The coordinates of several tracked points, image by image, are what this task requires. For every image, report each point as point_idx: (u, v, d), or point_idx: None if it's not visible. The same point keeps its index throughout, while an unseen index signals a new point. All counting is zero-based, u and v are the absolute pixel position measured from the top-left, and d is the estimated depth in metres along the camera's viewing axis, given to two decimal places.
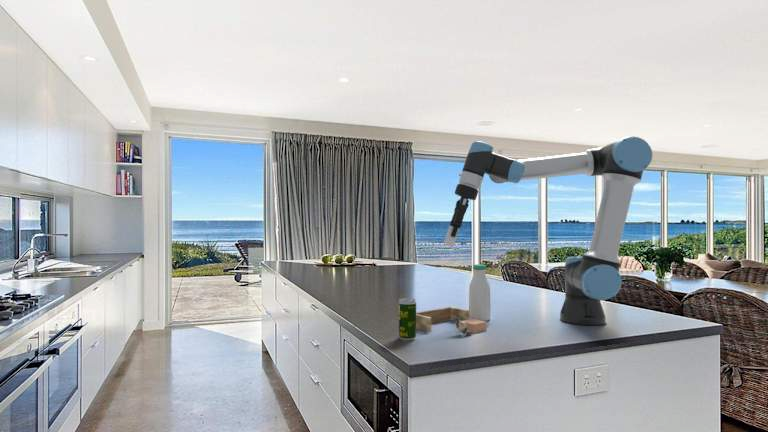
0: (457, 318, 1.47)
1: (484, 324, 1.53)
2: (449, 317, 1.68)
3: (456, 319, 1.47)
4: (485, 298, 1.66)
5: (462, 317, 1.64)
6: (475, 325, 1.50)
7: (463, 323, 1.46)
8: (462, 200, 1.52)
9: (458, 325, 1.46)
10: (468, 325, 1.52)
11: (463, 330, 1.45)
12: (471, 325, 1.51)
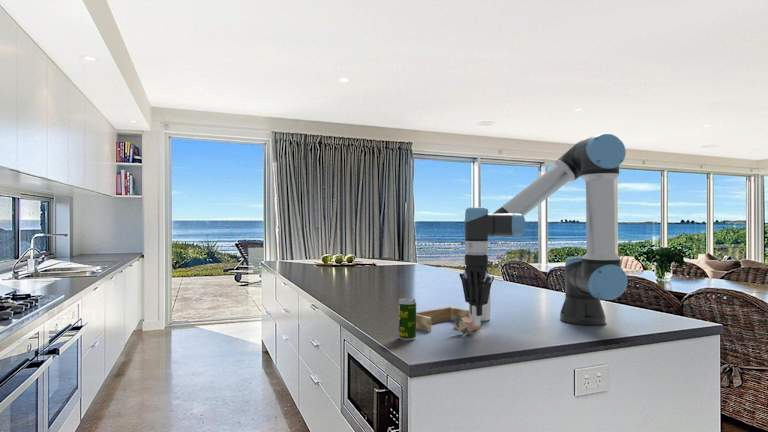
0: (457, 318, 1.48)
1: None
2: (449, 317, 1.68)
3: (456, 319, 1.47)
4: None
5: (462, 317, 1.64)
6: (469, 323, 1.52)
7: (463, 323, 1.46)
8: (489, 280, 1.48)
9: (458, 325, 1.46)
10: None
11: (463, 330, 1.46)
12: None
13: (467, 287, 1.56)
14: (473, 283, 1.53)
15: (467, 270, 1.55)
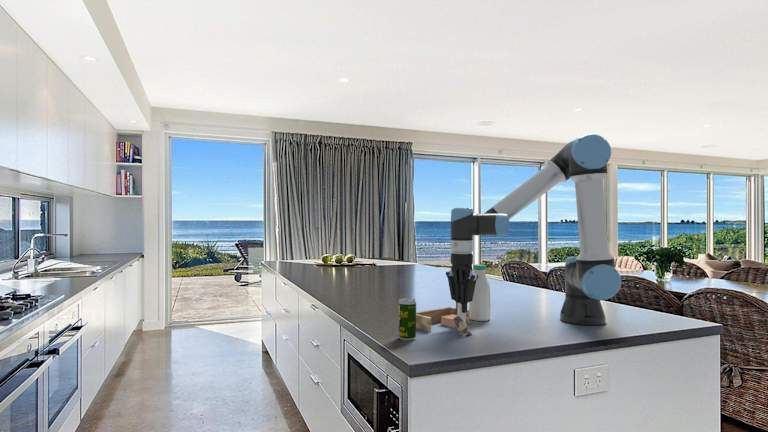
0: (457, 318, 1.48)
1: None
2: None
3: (456, 319, 1.47)
4: (485, 298, 1.66)
5: None
6: None
7: (463, 323, 1.46)
8: (474, 278, 1.53)
9: (458, 325, 1.46)
10: (448, 320, 1.59)
11: (463, 330, 1.46)
12: (451, 320, 1.58)
13: (453, 285, 1.61)
14: (459, 281, 1.58)
15: (453, 268, 1.60)
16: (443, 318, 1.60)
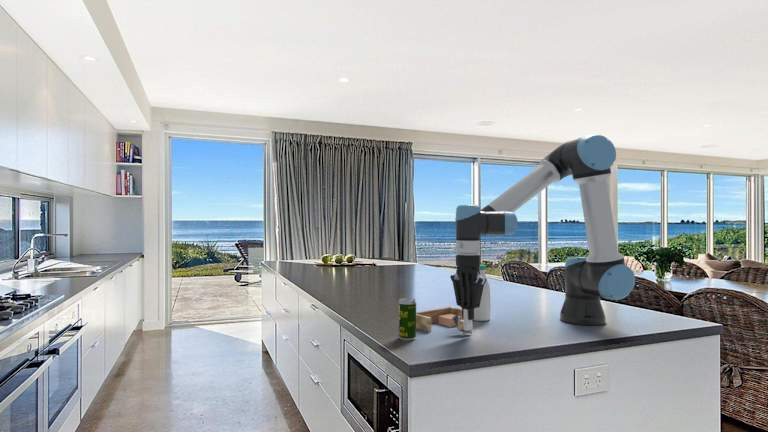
0: (456, 317, 1.48)
1: None
2: None
3: (455, 318, 1.48)
4: (485, 298, 1.66)
5: None
6: (451, 320, 1.58)
7: (462, 321, 1.46)
8: (481, 282, 1.40)
9: (457, 324, 1.47)
10: (444, 320, 1.60)
11: (462, 328, 1.46)
12: (447, 320, 1.59)
13: (458, 289, 1.47)
14: (465, 285, 1.45)
15: (458, 271, 1.46)
16: (440, 317, 1.62)
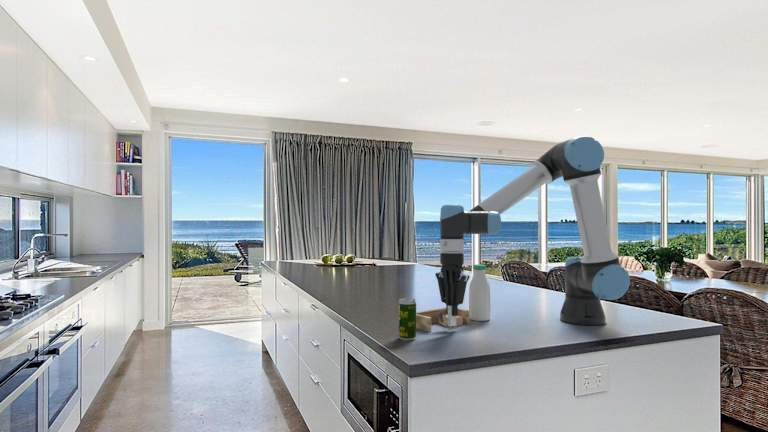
0: (441, 314, 1.53)
1: (460, 319, 1.61)
2: None
3: (440, 315, 1.53)
4: (485, 298, 1.66)
5: None
6: None
7: (447, 317, 1.51)
8: (464, 279, 1.45)
9: (442, 320, 1.51)
10: None
11: None
12: None
13: (443, 287, 1.52)
14: (449, 282, 1.50)
15: (443, 269, 1.51)
16: None
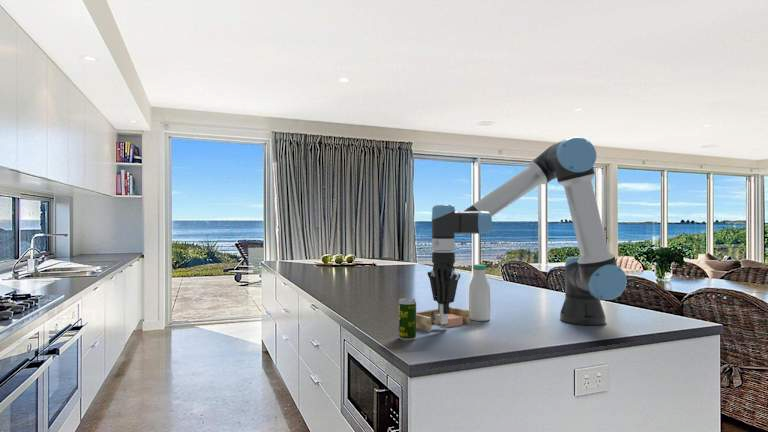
0: (433, 312, 1.56)
1: (460, 319, 1.60)
2: None
3: (432, 313, 1.55)
4: (485, 298, 1.66)
5: None
6: (450, 320, 1.58)
7: (439, 315, 1.54)
8: (455, 277, 1.48)
9: (434, 318, 1.54)
10: None
11: None
12: None
13: (435, 285, 1.55)
14: (440, 281, 1.53)
15: (434, 268, 1.54)
16: None
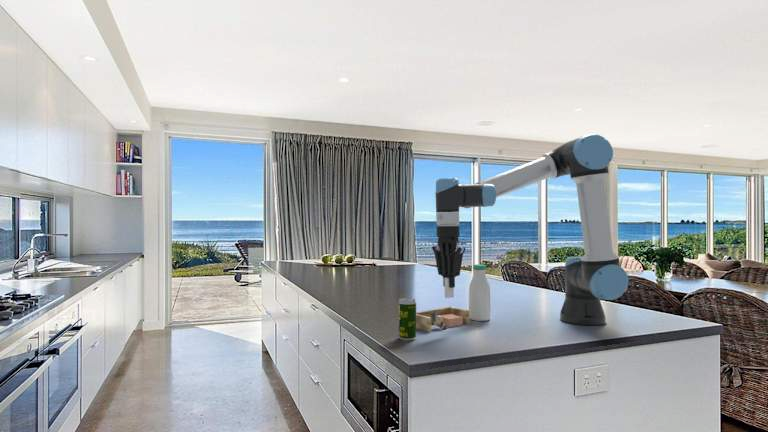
0: (433, 313, 1.56)
1: (460, 319, 1.60)
2: None
3: (433, 314, 1.56)
4: (485, 298, 1.66)
5: None
6: (450, 320, 1.58)
7: (439, 317, 1.55)
8: (460, 251, 1.47)
9: (435, 319, 1.54)
10: (444, 319, 1.60)
11: (440, 324, 1.54)
12: (446, 319, 1.59)
13: (440, 259, 1.54)
14: (445, 255, 1.52)
15: (439, 242, 1.53)
16: None
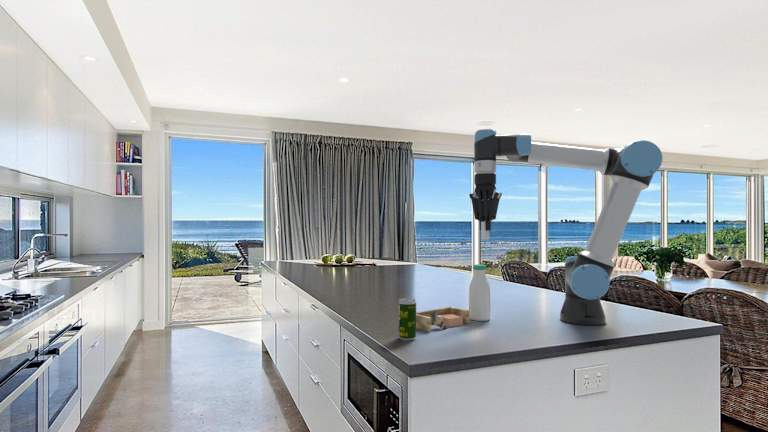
0: (433, 313, 1.56)
1: (460, 319, 1.60)
2: None
3: (433, 313, 1.56)
4: (485, 298, 1.66)
5: None
6: (449, 319, 1.58)
7: (439, 317, 1.55)
8: (497, 195, 1.59)
9: (435, 319, 1.54)
10: (444, 319, 1.60)
11: (440, 324, 1.54)
12: (446, 319, 1.59)
13: (476, 206, 1.67)
14: (482, 201, 1.64)
15: (476, 189, 1.66)
16: None
